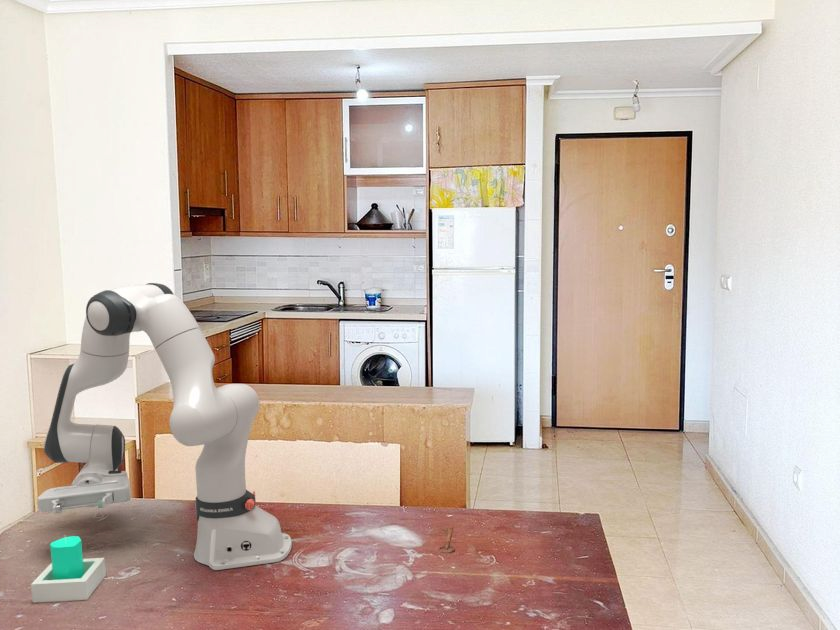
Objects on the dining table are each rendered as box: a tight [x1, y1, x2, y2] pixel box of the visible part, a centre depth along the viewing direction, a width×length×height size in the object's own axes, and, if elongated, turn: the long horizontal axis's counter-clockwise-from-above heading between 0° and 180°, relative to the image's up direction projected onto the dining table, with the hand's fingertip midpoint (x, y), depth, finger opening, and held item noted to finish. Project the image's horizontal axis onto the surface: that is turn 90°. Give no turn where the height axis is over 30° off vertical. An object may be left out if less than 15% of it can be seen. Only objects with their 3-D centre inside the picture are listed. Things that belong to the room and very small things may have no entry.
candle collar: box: [30, 557, 107, 603], centre depth 158 cm, size 11×11×4 cm
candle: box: [49, 534, 84, 580], centre depth 158 cm, size 6×6×12 cm
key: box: [437, 524, 455, 554], centre depth 178 cm, size 6×1×15 cm
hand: (79, 507), depth 168 cm, fingers open, 8 cm apart
